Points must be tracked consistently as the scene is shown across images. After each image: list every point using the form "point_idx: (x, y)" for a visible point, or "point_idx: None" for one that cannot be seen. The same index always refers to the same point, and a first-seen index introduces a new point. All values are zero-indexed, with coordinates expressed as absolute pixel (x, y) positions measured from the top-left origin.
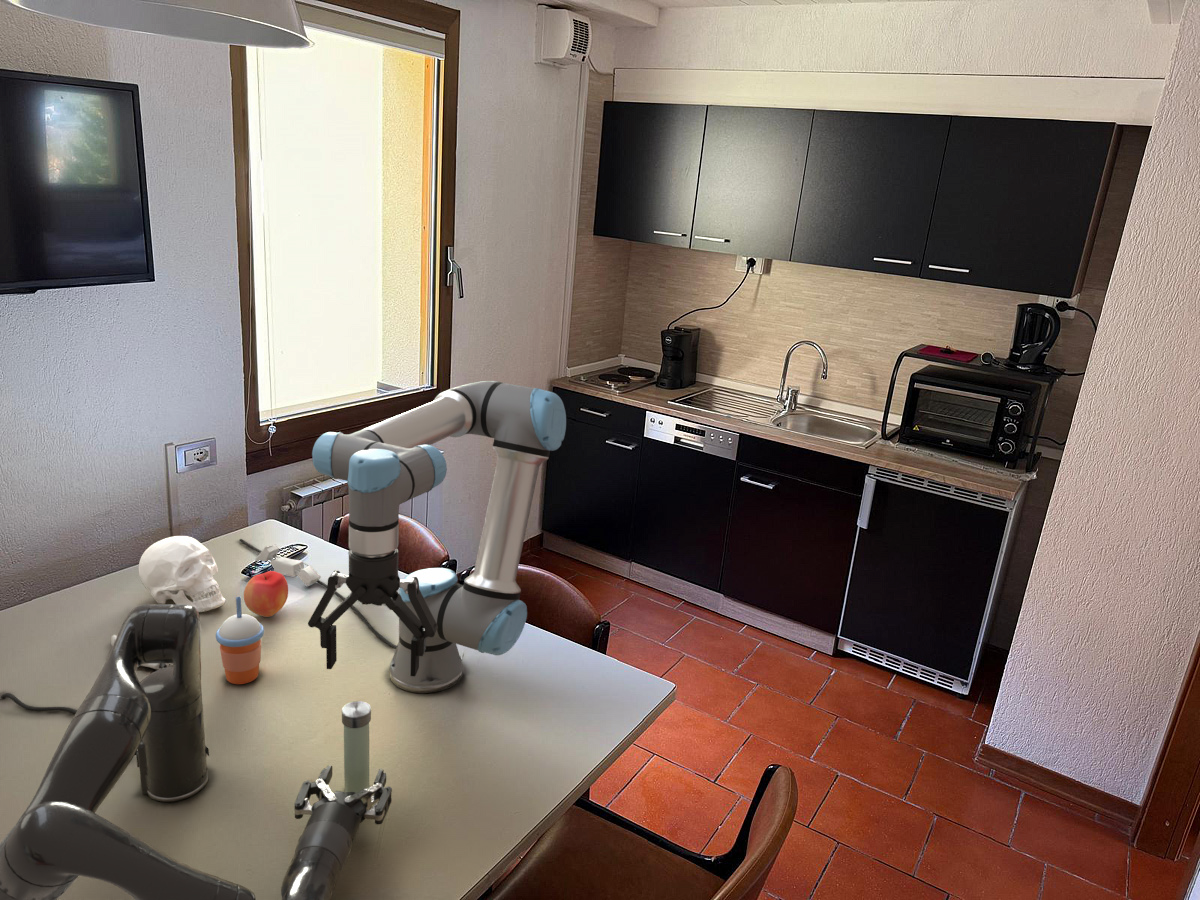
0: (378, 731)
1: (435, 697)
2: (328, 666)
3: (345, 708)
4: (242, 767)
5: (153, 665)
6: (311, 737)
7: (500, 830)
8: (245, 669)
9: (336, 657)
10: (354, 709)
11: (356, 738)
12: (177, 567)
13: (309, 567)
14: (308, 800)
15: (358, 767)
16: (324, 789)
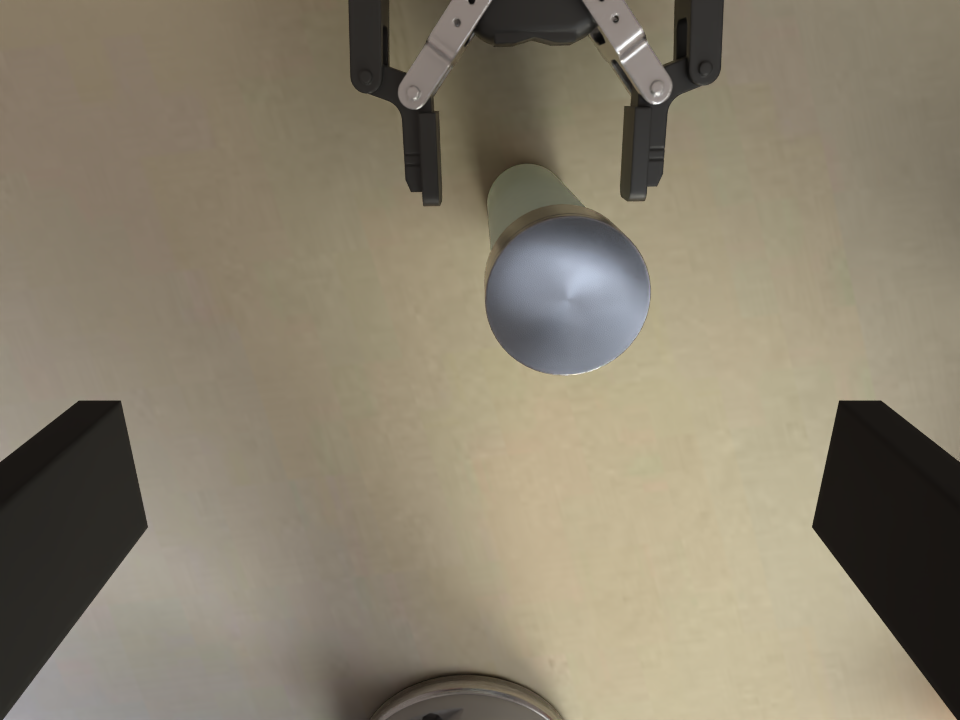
0: (540, 505)
1: (411, 663)
2: (878, 413)
3: (631, 296)
4: (925, 297)
5: None
6: (738, 455)
7: (9, 97)
8: None
9: (827, 545)
10: (577, 293)
11: (537, 204)
12: None
13: None
14: (675, 34)
15: (519, 185)
16: (621, 18)
